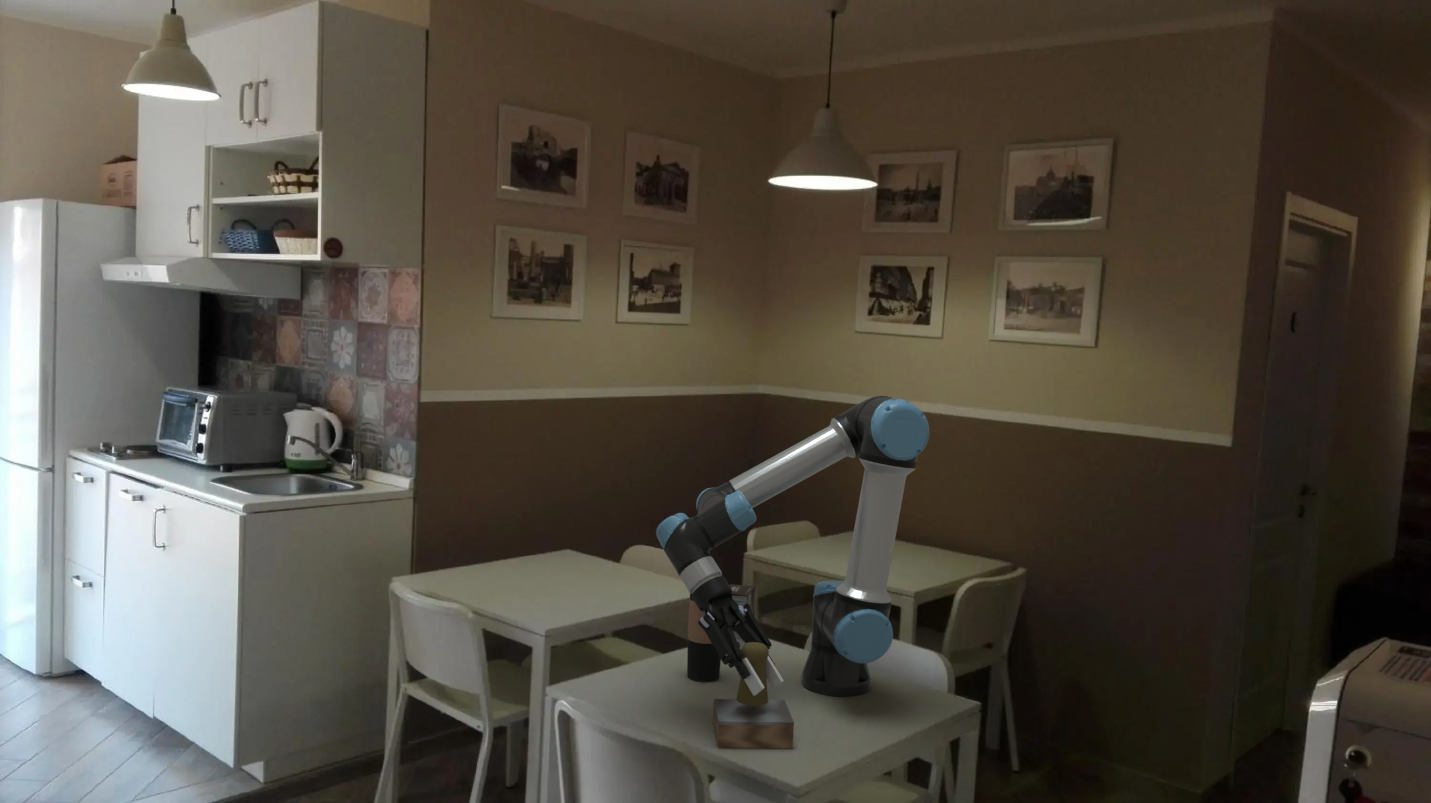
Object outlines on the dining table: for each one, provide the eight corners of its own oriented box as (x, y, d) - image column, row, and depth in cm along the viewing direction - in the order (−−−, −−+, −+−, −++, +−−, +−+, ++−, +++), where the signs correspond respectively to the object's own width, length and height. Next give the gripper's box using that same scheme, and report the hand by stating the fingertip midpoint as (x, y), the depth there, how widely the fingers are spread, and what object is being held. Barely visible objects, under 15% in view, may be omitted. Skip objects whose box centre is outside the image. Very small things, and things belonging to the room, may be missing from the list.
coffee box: (727, 648, 262) (730, 583, 261) (753, 651, 261) (756, 585, 259) (719, 659, 253) (722, 592, 252) (746, 662, 252) (749, 594, 250)
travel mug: (699, 668, 245) (703, 582, 244) (727, 676, 241) (731, 588, 239) (679, 677, 239) (682, 587, 238) (707, 684, 235) (710, 594, 233)
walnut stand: (783, 724, 213) (784, 699, 213) (792, 748, 201) (793, 722, 201) (712, 723, 212) (713, 698, 212) (717, 747, 200) (718, 721, 200)
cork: (736, 693, 209) (739, 638, 209) (767, 695, 209) (770, 639, 208) (736, 704, 203) (739, 647, 203) (768, 706, 203) (771, 649, 202)
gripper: (725, 588, 222) (785, 687, 212) (665, 603, 208) (726, 709, 199) (747, 568, 218) (809, 667, 209) (686, 581, 204) (750, 688, 195)
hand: (768, 687), depth 204 cm, fingers closed on cork, 5 cm apart
